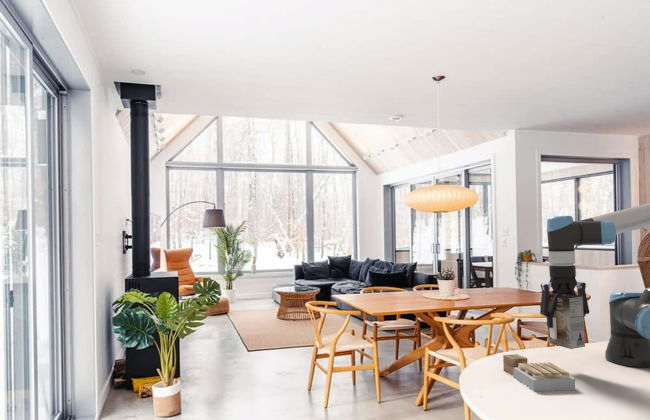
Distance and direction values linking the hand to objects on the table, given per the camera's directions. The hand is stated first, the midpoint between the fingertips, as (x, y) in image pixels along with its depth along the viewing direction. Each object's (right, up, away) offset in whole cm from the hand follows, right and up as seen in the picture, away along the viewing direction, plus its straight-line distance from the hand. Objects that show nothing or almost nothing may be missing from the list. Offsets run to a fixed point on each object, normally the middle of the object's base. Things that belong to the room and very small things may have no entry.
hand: (566, 337), depth 152 cm
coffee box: (0, -3, 0) cm, 3 cm away
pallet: (-13, -7, -12) cm, 19 cm away
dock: (-13, -10, -12) cm, 20 cm away
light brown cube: (-16, -11, -2) cm, 20 cm away
